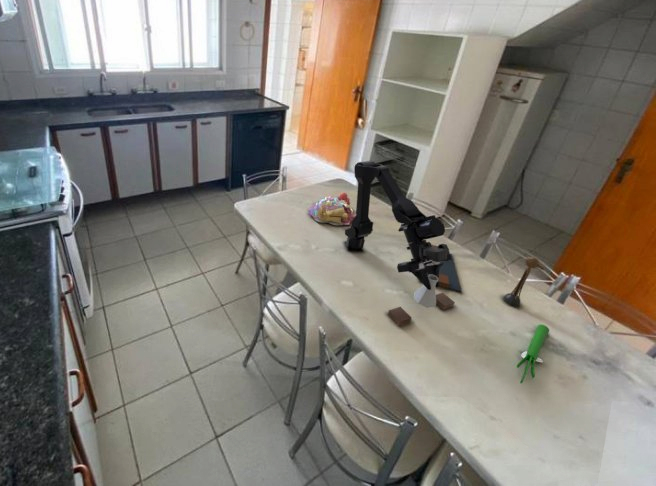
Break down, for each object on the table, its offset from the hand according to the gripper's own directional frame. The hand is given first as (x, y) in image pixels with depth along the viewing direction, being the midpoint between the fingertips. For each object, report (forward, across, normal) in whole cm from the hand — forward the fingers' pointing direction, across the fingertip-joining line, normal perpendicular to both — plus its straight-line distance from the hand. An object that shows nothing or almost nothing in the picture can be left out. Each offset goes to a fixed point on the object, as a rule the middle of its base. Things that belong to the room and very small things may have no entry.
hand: (433, 288), depth 107 cm
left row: (+7, 0, +9) cm, 11 cm away
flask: (+4, 0, +6) cm, 7 cm away
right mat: (-3, +24, +20) cm, 31 cm away
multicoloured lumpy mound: (-38, +7, +56) cm, 68 cm away
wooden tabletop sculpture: (+13, +35, +3) cm, 38 cm away
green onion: (+25, +18, -9) cm, 32 cm away
